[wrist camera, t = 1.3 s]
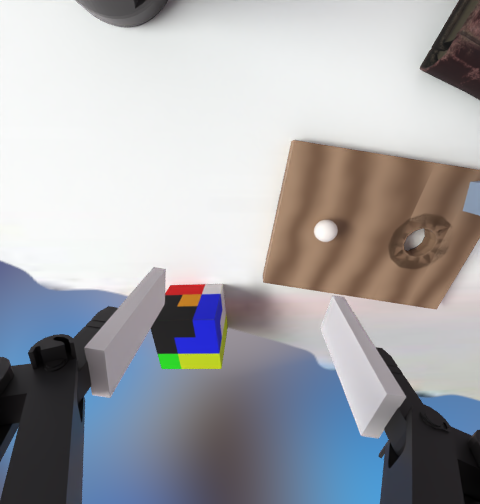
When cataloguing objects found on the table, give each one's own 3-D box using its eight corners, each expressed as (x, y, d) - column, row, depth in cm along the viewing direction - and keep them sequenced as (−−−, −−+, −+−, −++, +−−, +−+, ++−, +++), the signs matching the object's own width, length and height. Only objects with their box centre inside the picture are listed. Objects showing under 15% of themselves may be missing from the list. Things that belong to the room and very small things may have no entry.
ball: (315, 215, 34) (320, 221, 31) (336, 218, 34) (344, 225, 31) (309, 235, 35) (314, 243, 32) (329, 239, 35) (336, 246, 32)
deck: (262, 275, 41) (263, 282, 39) (291, 141, 33) (294, 140, 30) (426, 300, 42) (436, 309, 39) (498, 174, 33) (517, 176, 31)
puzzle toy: (223, 283, 43) (214, 319, 34) (227, 326, 47) (221, 368, 37) (170, 285, 43) (148, 320, 34) (179, 327, 47) (161, 368, 38)
